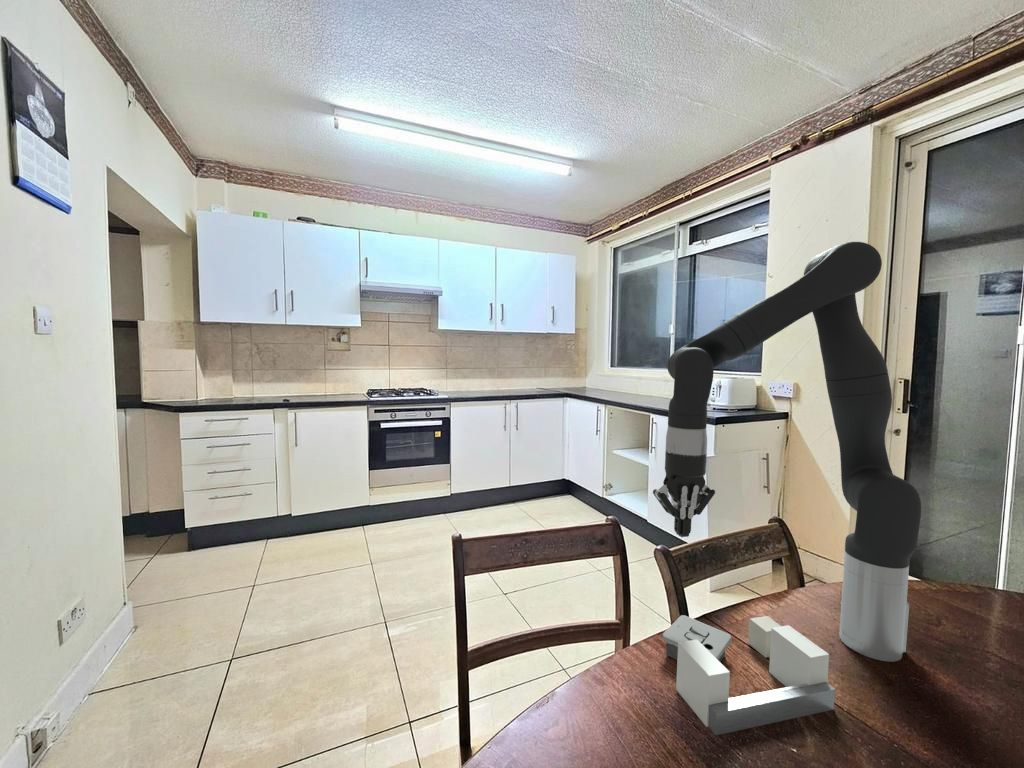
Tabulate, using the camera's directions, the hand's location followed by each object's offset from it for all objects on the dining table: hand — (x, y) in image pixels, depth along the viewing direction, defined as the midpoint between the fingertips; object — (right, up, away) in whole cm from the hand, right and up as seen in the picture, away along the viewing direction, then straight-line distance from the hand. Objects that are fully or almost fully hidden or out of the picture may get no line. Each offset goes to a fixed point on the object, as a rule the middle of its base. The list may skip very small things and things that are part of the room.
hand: (682, 535), depth 87 cm
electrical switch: (+3, -20, -11) cm, 22 cm away
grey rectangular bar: (+5, -20, -22) cm, 30 cm away
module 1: (-5, -20, -19) cm, 28 cm away
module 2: (+13, -20, -15) cm, 28 cm away
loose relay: (+13, -19, -6) cm, 24 cm away
